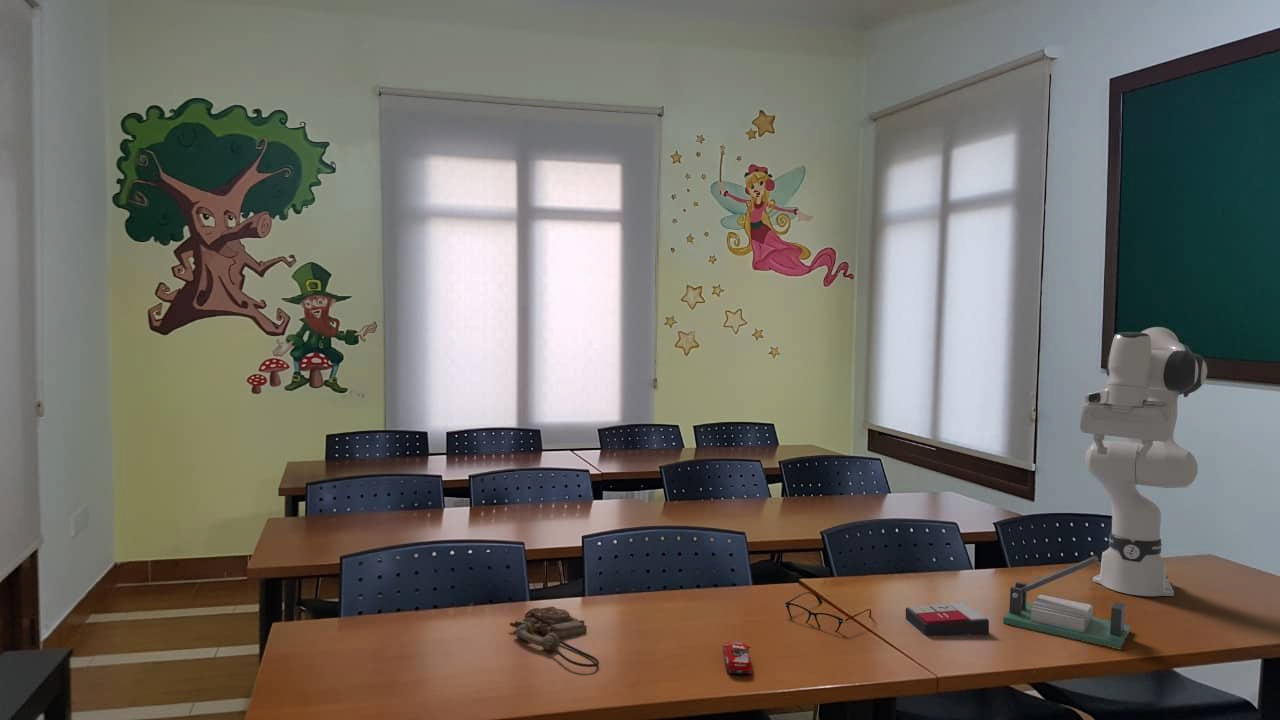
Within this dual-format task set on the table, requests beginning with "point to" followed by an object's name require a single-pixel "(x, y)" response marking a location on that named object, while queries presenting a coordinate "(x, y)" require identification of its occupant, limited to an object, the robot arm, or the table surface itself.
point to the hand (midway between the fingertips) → (1120, 456)
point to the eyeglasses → (819, 613)
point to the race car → (737, 658)
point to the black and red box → (947, 620)
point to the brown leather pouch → (552, 630)
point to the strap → (1060, 574)
